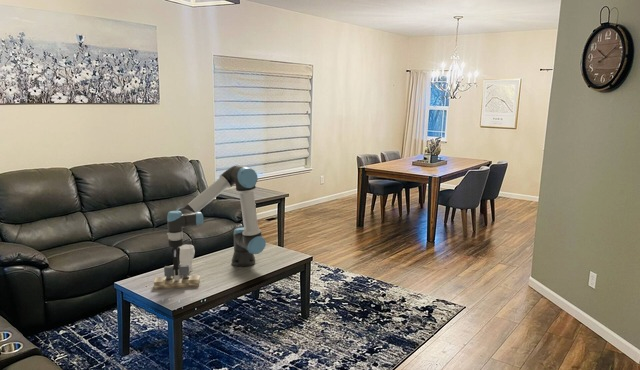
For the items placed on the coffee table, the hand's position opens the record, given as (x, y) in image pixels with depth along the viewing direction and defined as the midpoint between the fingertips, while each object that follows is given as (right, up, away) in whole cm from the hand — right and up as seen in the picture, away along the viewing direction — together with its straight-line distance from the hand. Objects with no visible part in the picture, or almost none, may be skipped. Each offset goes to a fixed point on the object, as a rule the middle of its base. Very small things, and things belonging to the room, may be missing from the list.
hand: (177, 279), depth 259 cm
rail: (0, -4, +1) cm, 4 cm away
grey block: (0, 0, 0) cm, 1 cm away
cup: (-2, 0, +24) cm, 24 cm away
